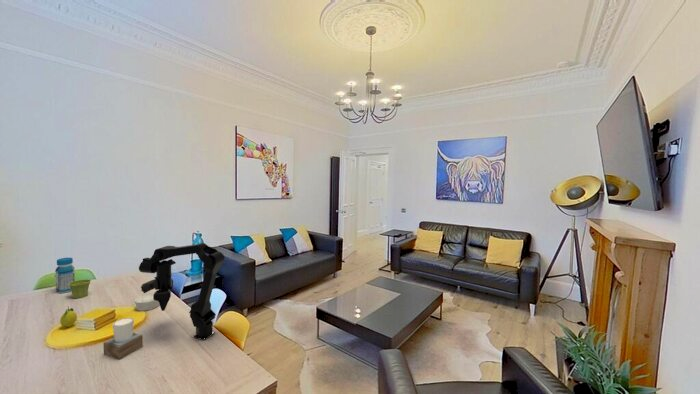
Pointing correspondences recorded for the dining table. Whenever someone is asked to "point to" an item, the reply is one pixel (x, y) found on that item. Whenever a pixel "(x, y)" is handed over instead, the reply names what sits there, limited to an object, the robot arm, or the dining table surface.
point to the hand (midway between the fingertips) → (164, 306)
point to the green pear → (68, 317)
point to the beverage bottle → (64, 275)
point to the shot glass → (123, 329)
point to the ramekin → (146, 302)
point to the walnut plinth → (123, 346)
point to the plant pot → (79, 288)
